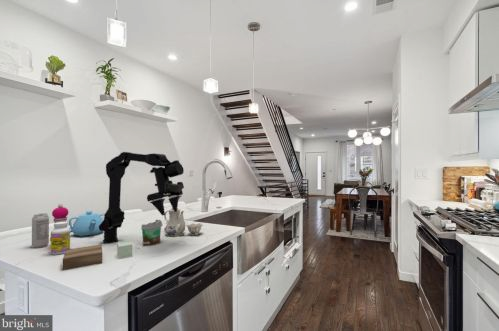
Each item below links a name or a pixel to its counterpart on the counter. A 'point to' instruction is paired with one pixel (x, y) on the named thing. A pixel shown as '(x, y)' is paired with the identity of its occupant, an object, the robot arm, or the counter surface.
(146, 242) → the food container
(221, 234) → the counter surface
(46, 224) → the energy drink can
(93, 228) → the teapot
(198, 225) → the chinaware
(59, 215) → the pepper mill
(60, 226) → the supplement bottle
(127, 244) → the sage cube
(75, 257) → the walnut block
